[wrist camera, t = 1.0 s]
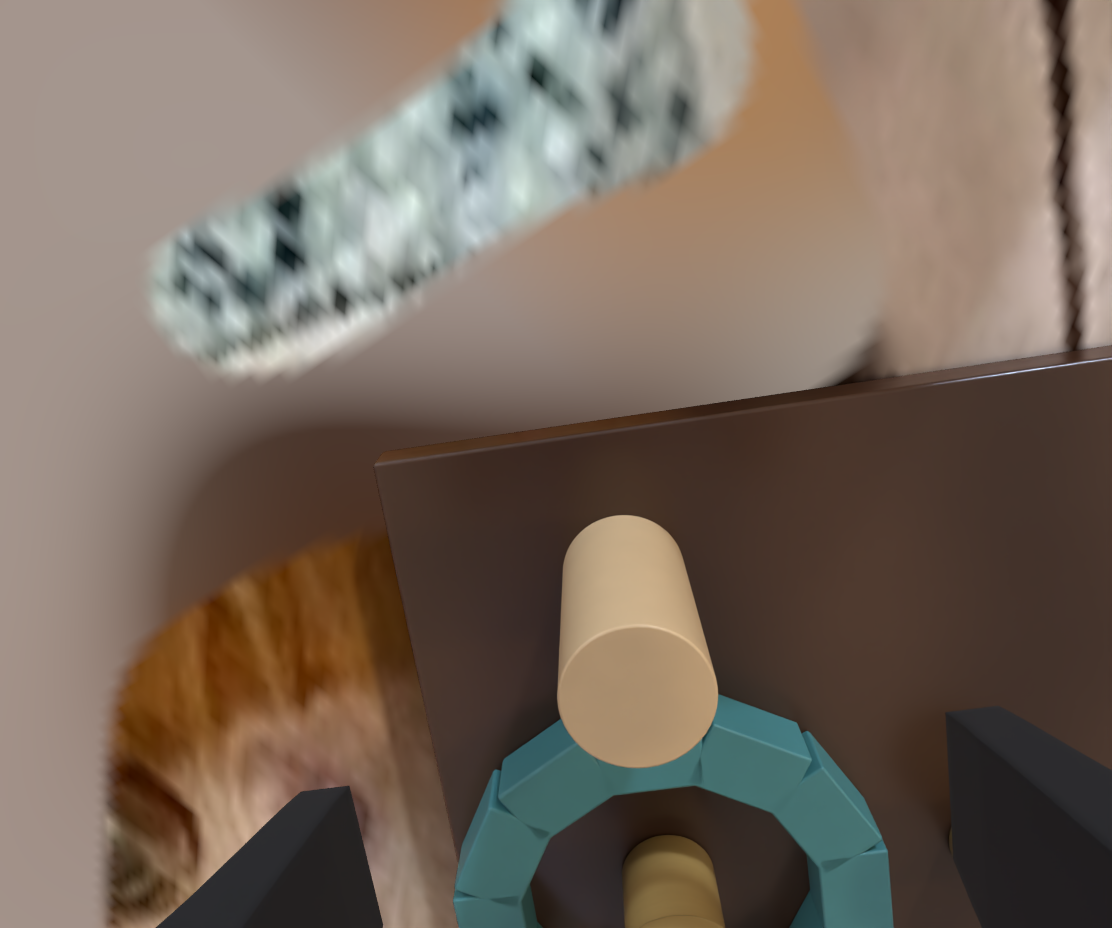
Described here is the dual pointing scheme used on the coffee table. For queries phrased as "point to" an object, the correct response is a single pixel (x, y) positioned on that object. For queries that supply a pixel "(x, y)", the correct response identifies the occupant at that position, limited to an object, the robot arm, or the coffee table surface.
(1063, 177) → the coffee table surface
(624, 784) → the ring
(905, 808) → the rack
